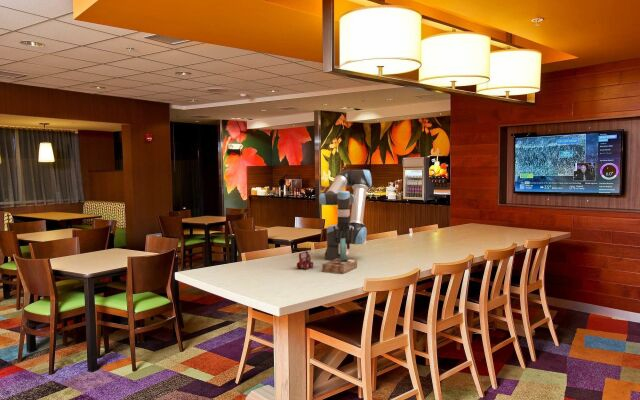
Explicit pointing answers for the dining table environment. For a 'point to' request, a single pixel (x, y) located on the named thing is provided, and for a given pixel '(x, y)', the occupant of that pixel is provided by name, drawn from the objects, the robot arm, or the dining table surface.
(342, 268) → the socket board
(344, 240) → the plug
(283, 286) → the dining table surface
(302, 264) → the dark red rounded figure
